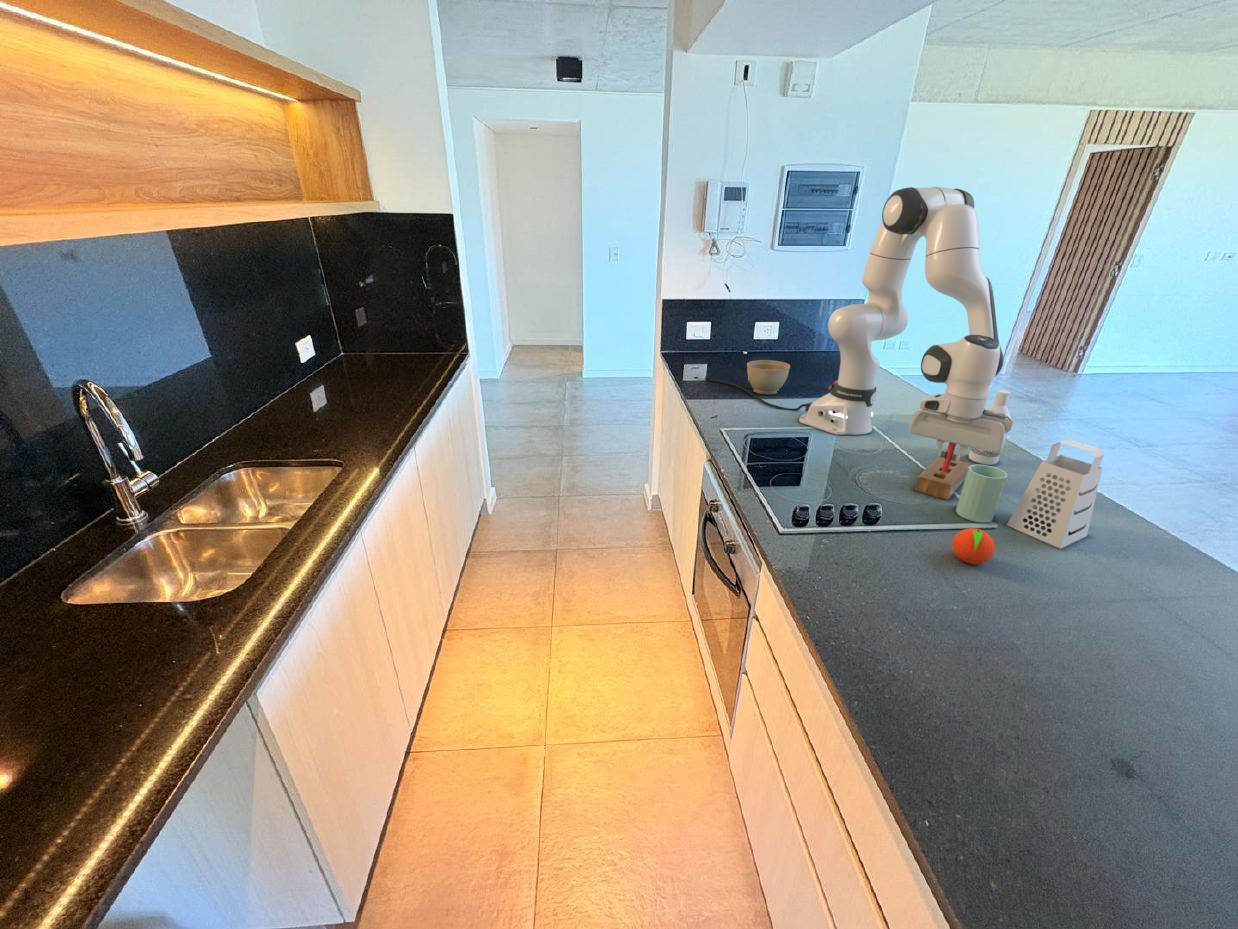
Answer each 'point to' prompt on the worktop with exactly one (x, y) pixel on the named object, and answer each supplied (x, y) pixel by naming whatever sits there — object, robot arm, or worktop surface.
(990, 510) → the cup
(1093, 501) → the grater
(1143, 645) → the worktop surface
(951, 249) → the robot arm
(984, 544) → the clementine
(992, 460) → the bath foam
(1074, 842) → the worktop surface
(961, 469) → the block
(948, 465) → the straw
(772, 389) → the planter bowl
